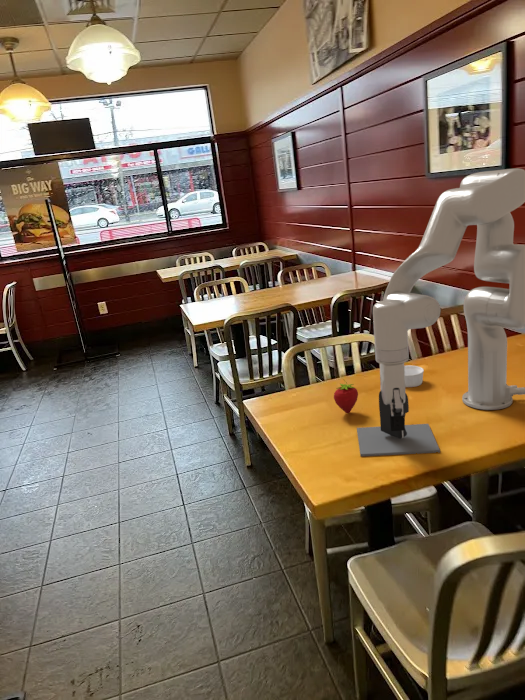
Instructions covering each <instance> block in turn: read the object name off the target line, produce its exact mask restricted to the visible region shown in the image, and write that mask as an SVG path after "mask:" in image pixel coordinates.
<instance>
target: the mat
mask: <svg viewBox="0 0 525 700" xmlns="http://www.w3.org/2000/svg"><path fill="white" fill-rule="evenodd" d="M405 430H406V432H407V435H406V436H405V437H403V438H401V439H400V438H397V437H394V436H391V435H389V434H387V433H385V432H383V431H381V426H369V427H368V426H367V427H356V434H357V439H358V440H357V441H358V448H359V454H360V457H375V456H376V457H378V456H392V455H394V456H395V455H397V456H398V455H412V454H413V455H414V454H415V455H416V453H417V455H418V454H432V453H433V454H434V453H436V452H438V453H441V450H440V447H439V444H438V443H437V440H436V438H435V436H434V434H433V431H432V429H431V427H430V424H429V423H419V424H418V423H416V424H405ZM436 454H437V453H436Z"/></svg>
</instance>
